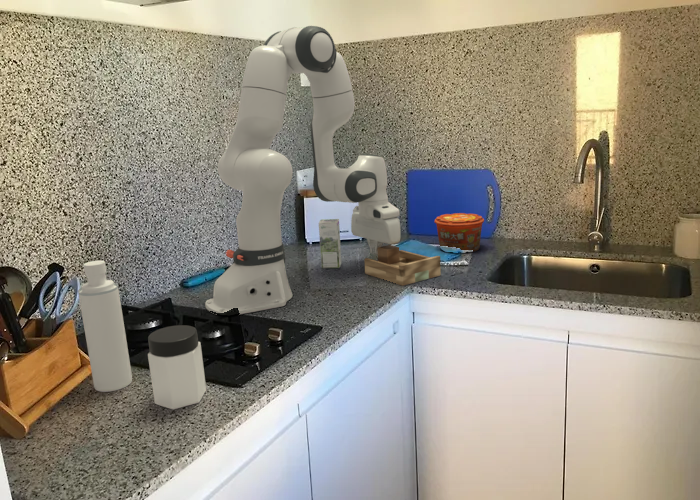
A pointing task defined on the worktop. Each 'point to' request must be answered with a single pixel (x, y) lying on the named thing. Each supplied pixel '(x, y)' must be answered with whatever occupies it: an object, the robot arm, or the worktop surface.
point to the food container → (460, 230)
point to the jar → (176, 366)
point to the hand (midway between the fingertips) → (375, 253)
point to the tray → (405, 268)
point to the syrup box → (330, 243)
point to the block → (388, 254)
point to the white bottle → (104, 329)
